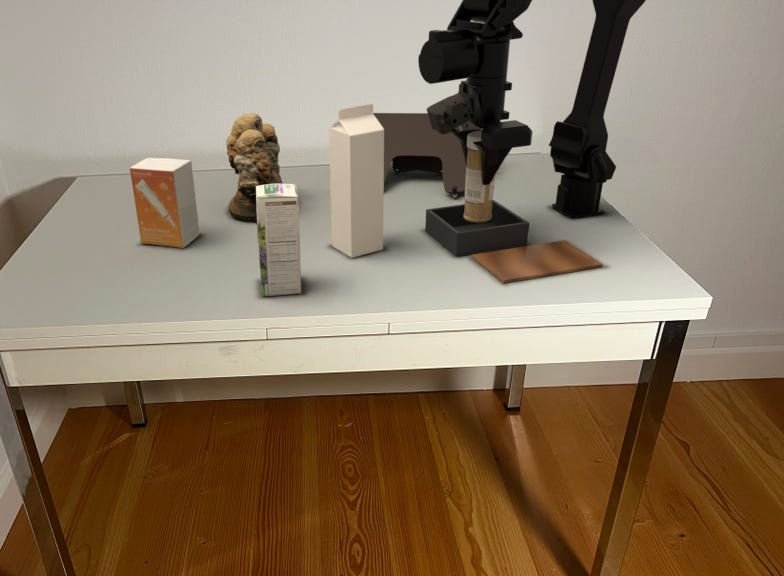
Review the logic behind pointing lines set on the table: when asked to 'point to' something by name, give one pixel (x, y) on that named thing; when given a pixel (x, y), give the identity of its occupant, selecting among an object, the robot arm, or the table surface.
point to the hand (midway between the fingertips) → (478, 180)
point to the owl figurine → (252, 161)
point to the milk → (357, 181)
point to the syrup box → (278, 239)
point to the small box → (165, 201)
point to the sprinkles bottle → (476, 185)
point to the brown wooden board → (535, 261)
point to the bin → (476, 230)
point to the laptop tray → (422, 149)
